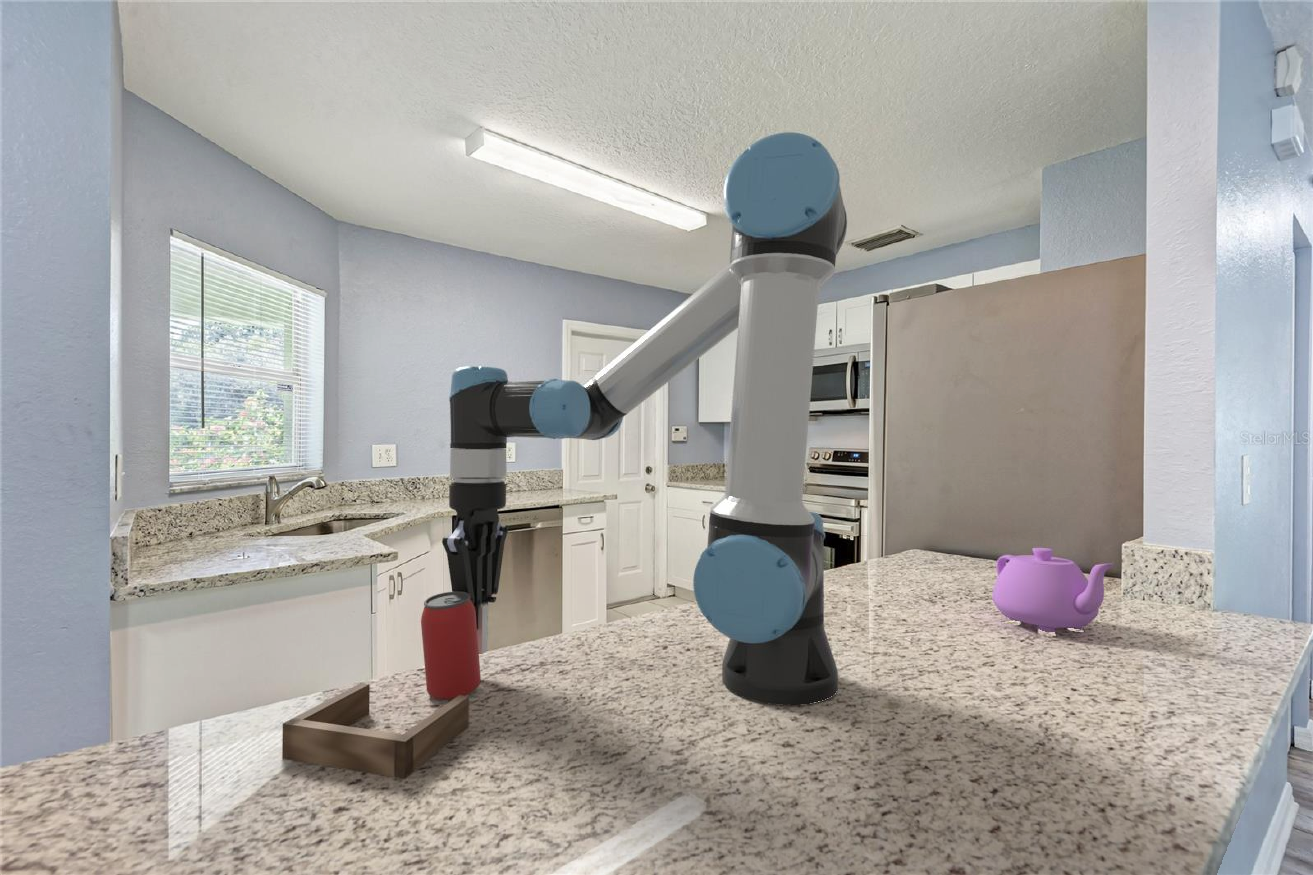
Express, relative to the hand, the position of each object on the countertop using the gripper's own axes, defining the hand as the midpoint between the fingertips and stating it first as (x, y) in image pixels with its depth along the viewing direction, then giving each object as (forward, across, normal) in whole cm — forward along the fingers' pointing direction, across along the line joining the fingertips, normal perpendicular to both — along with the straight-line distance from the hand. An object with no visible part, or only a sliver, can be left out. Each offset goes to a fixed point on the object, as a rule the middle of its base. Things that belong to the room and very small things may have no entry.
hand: (476, 651), depth 83 cm
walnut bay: (+3, +19, +1) cm, 19 cm away
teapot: (+3, -46, +84) cm, 96 cm away
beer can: (+3, +6, 0) cm, 7 cm away
